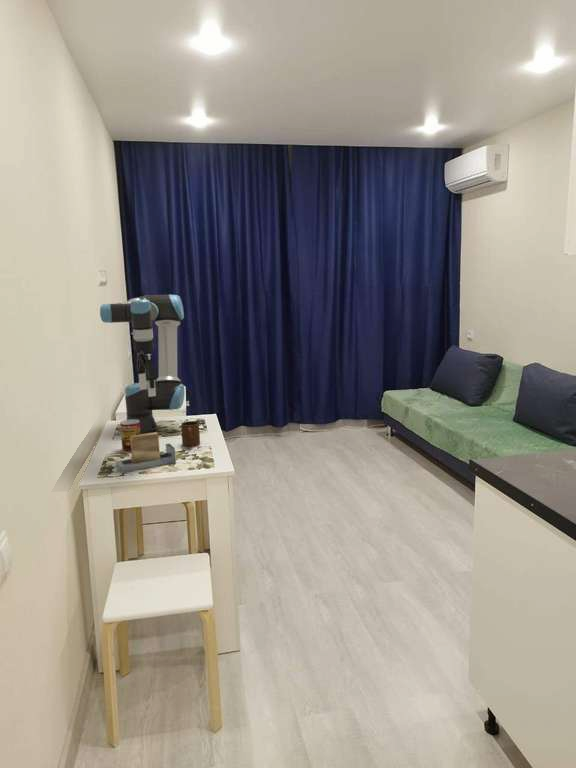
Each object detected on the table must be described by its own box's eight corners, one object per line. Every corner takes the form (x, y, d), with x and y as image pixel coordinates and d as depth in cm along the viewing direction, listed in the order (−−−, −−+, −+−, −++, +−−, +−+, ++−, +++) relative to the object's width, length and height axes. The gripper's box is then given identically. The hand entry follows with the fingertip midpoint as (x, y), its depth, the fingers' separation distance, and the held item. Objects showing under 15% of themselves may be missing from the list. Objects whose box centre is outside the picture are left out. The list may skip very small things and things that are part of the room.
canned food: (119, 452, 236) (117, 424, 234) (125, 446, 244) (123, 419, 242) (138, 452, 236) (136, 424, 234) (143, 446, 244) (141, 419, 241)
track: (116, 467, 217) (115, 452, 216) (170, 457, 227) (169, 443, 226) (120, 472, 211) (119, 457, 210) (175, 462, 221) (174, 448, 220)
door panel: (132, 466, 218) (130, 436, 216) (158, 461, 223) (156, 432, 221) (134, 468, 216) (132, 438, 213) (160, 463, 220) (158, 434, 218)
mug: (199, 449, 237) (198, 427, 236) (181, 450, 236) (179, 428, 235) (200, 441, 249) (199, 420, 247) (182, 442, 248) (181, 421, 246)
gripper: (126, 336, 230) (130, 387, 235) (141, 344, 209) (146, 400, 214) (144, 335, 234) (148, 385, 238) (161, 342, 212) (166, 397, 217)
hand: (147, 392), depth 226 cm, fingers open, 13 cm apart
